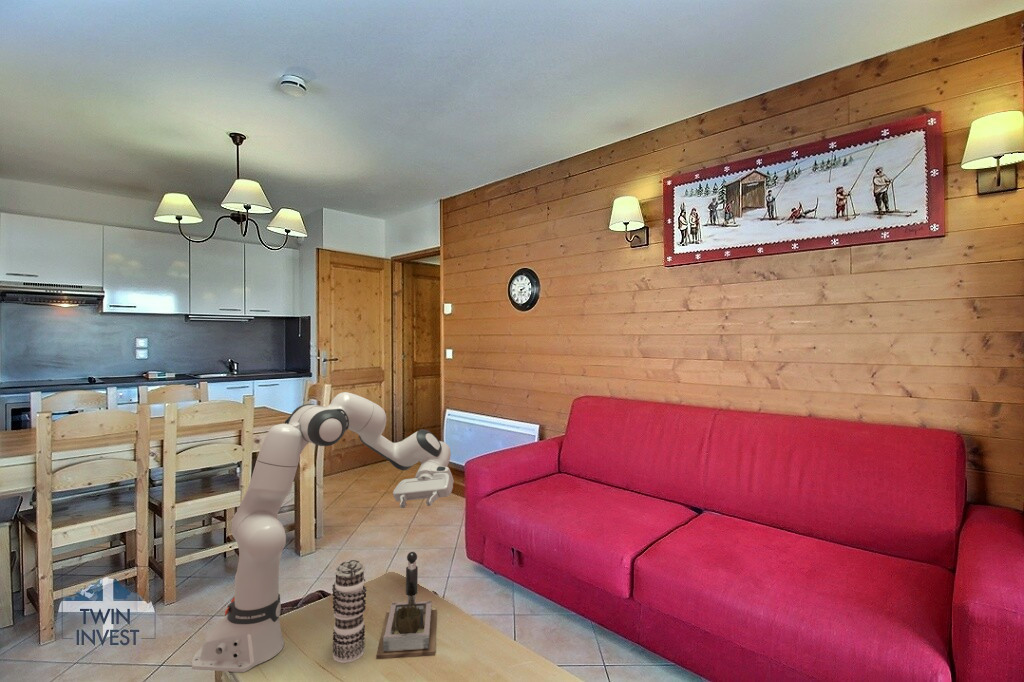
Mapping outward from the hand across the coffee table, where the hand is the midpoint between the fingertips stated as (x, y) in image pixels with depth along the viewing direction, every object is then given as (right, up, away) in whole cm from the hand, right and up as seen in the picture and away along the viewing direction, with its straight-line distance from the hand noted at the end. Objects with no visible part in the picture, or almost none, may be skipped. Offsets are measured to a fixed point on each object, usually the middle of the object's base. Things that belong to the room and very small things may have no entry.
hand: (415, 505), depth 157 cm
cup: (+1, -35, -13) cm, 37 cm away
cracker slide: (0, -34, -10) cm, 35 cm away
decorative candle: (-15, -35, -20) cm, 43 cm away
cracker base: (0, -35, -11) cm, 37 cm away
